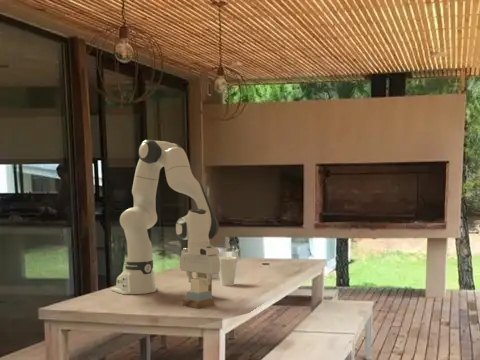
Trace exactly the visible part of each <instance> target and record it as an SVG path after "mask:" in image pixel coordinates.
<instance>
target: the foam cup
mask: <svg viewBox="0 0 480 360" xmlns="http://www.w3.org/2000/svg"><path fill="white" fill-rule="evenodd" d="M219 261H220V271H219V273H218V275H219V281H220V286H222V287H230V286H234V285H235V276H236V269H237V268H236V267H237V262H238V261H237V257H236V256H219Z"/></svg>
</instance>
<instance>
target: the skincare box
mask: <svg viewBox="0 0 480 360" xmlns="http://www.w3.org/2000/svg"><path fill="white" fill-rule="evenodd" d="M195 273H196V275H195V277H196V278H206V279H207V276H206V274H204V273H197V272H195ZM212 280H213V277H212V278H211V280H210V285H208V291H211V298H213V297H212V296H213V295H212V294H213V293H212V290H213V289H212V288H213V287H212V286H213V285H212V284H213V283H212V282H213V281H212Z"/></svg>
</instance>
